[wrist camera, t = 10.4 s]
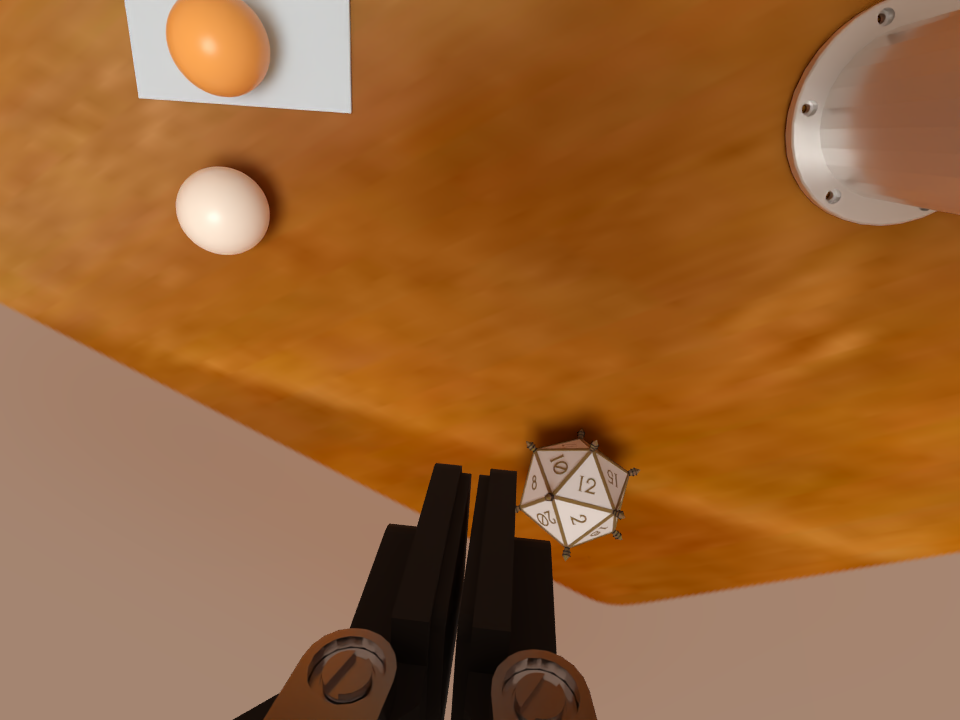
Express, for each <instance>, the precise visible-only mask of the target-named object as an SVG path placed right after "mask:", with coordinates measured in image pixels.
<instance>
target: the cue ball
mask: <svg viewBox="0 0 960 720" xmlns="http://www.w3.org/2000/svg"><path fill="white" fill-rule="evenodd" d="M176 213H177V217H178V220H179V223H180V225H181V227H182V229H183V231H184V232H185V233H186V235H187V236H188V237H189V238H190V239H191V240H192V241H193V242H194V243H195V244H197V245H198V246H200V247H201V248H203V249H205V250H207V251H210V252H213V253H216V254H222V255H234V254H239V253H243V252H245V251H248V250H250V249H251V248H253V247H254V246H256V245H257V244H258V243H259V242H260V241H261V239H262V238H263V237H264V235H265V233H266V231H267V229H268V226H269V221H270V210H269V205H268V201H267V199H266V196H265V194H264V193H263V191H262V190H261V188H260V187H259V186H258V184H257V183H256V182H255V181H254V180H253V179H251V178H250V177H249V176H247V175H246V174H244V173H242V172H240V171H238V170H235V169H232V168H228V167H219V166H215V167H208V168H204V169H201V170H199V171H197V172H195V173H193V174H192V175H191V176H189V177H188V178H187V179H186V180H185V182H184V183H183V184H182V186H181V187H180V190H179V192H178V195H177V200H176Z"/></svg>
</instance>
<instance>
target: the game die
mask: <svg viewBox="0 0 960 720" xmlns="http://www.w3.org/2000/svg"><path fill="white" fill-rule="evenodd" d="M577 433H578V435H577V436H578V439H575V440H570V441H566V442H562V443H558V444H554V445H550V446H545V447H541V448H536V447H535V445H534V444H533V442H528V441H526V443H527V448H529V449H530V450H532V451H533V455H532V459H531V462H530V466H529V470H528V474H527V478H526V482H525V486H524V490H523V494H522V498H521V502H520V505H519V506H516V509H515V513H516V512H517V513H518V511H520V510H521V511H523V512H524V513H525V514H526V515H527V516H528V517H530V518H531V519H532V520H533V521H534V522H535V523H537V524H538V525H539V526H540V527H541V528H542V529H544V530H545V531H546V532H547V533H548V534H550V535H551V536H552V537H553V538H554V539H555V540H557V541H558V542H559V543H560V544H561V545H562V546H564V547H565V549H564V550H563V554H562V556H563V557H564V559H565V561H566V560H567V559H568V558H569V557H571V556H570V553H571V552H570V548H571V547H574V546H577V545H580V544H582V543H585V542H588V541H591V540H593V539H596V538H599V537H602V536H604V535H607V534H610V533H612V534H613V537H615V539H620V540H622V537H621V533H619V532H618V531H616V530H615V528H616V525H617V521H618V518H619V519H620V520H621V519H622V518H625V516H624V513H623V511H620V509H621V505H622V502H623V498H624V494H625V490H626V486H627V482H628V479H629V476H634V475H637V474H638V472H639V471H640V470H639V469H636V468H633V469H630V470H629V471H626V470H625V469H624V468H622V467H621V466H619V465H618V464H617V463H615V462H614V461H613V460H611V459H610V458H608V457H607V456H606V455H604V454H603V453H601V452H600V451H599V450H597V449H598V448H597V447H598V446H599V445H598V442H597V440H595V441H592V443H591V445H590V444H589V443H588V442H586V441H585V440H583V437H584V435H585V432H584V431H583V429H581V430H580V431H579V432H577Z"/></svg>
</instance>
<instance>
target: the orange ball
mask: <svg viewBox="0 0 960 720" xmlns="http://www.w3.org/2000/svg"><path fill="white" fill-rule="evenodd" d="M166 41H167V46H168V49H169V52H170V55H171V57H172V59H173V61H174V63H175V64H176V66H177V68H178V69H179V70H180V72H181V73H182V74H183V75H184V76H185V77H186V78H187V79H188V80H189V81H190V82H191V83H192V84H193V85H195V86H196V87H198V88H199V89H201V90H203V91H205V92H207V93H210V94H212V95H216V96H220V97H237V96H241V95H244V94H247V93H249V92H250V91H252V90H254V89H255V88H256V87H257V86H258V85H259V84H260V83H261V82H262V81H263V79H264V77H265V76H266V73H267V71H268V68H269V64H270V43H269V39H268V35H267V33H266V30H265V28H264V26H263V24H262V22H261V20H260V19H259V17H258V16H257V15H256V13H255V12H254V11H253V10H252V9H251V8H250V7H249V6H248V5H247V4H246V3H245V2H243V1H242V0H177V1H176V3H175V4H174V5H173V7H172V8H171V10H170V12H169V15H168V18H167V23H166Z"/></svg>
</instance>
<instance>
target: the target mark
mask: <svg viewBox="0 0 960 720" xmlns="http://www.w3.org/2000/svg"><path fill="white" fill-rule="evenodd" d="M176 1H177V0H125V7H126V14H127V20H128V27H129V34H130V41H131V48H132V54H133V61H134V68H135V75H136V81H137V88H138V95H139V98H145V99H159V100H173V101H187V102H201V103H215V104H229V105H243V106H257V107H271V108H285V109H299V110H313V111H327V112H341V113H352V92H351V35H350V0H242V1H243V2H245V3H246V4H247V5H248V6H249V7H250V8H251V9H252V10H253V11H254V12H255V13H256V15H257V16H258V17H259V19H260V20H261V22H262V24H263V26H264V28H265V30H266V33H267V35H268V39H269V43H270V64H269V68H268V71H267V73H266V76H265V77H264V79H263V81H262V82H261V83H260V84H259V85H258V86H257V87H256V88H255V89H254V90H252V91H250V92H249V93H247V94H244V95H241V96H237V97H220V96H216V95H212V94H210V93H207V92H205V91H203V90H201V89H199V88H198V87H196V86H195V85H193V84H192V83H191V82H190V81H189V80H188V79H187V78H186V77H185V76H184V75H183V74H182V73H181V72H180V70H179V69H178V68H177V66H176V64H175V63H174V61H173V59H172V57H171V55H170V52H169V49H168V46H167V41H166V23H167V18H168V15H169V12H170V10H171V8H172V7H173V5H174V4H175V3H176Z"/></svg>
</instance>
